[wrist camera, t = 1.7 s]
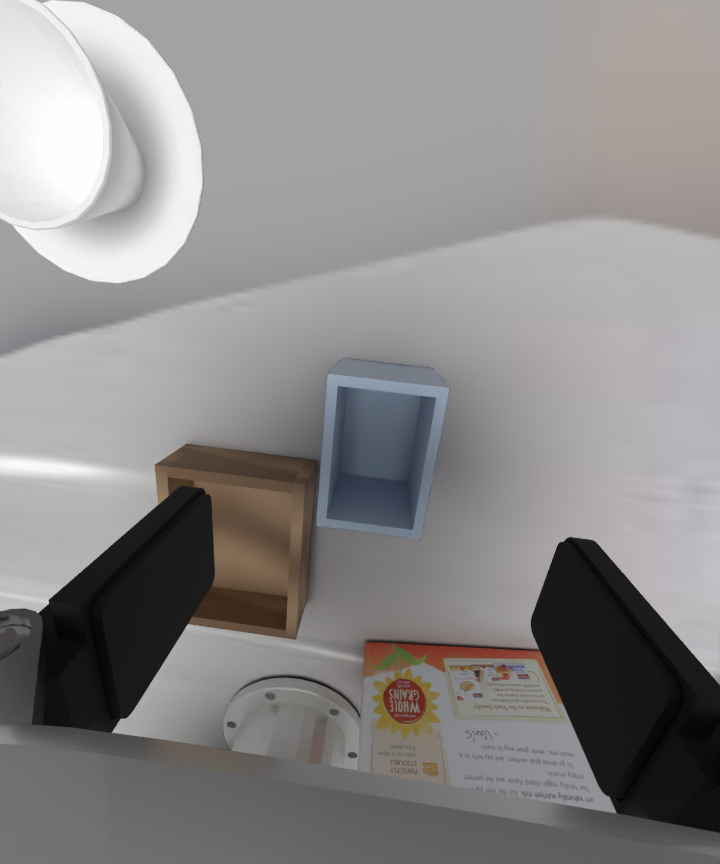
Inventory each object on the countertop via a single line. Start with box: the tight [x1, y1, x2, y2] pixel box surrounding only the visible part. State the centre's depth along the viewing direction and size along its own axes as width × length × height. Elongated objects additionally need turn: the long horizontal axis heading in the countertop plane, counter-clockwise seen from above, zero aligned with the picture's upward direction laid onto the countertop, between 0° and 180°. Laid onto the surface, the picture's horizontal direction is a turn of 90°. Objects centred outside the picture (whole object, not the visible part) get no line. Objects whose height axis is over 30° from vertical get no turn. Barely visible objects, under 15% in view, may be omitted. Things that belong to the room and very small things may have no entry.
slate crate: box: [316, 358, 450, 540], centre depth 20 cm, size 8×6×6 cm
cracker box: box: [357, 642, 616, 813], centre depth 19 cm, size 14×6×21 cm, turn 90°
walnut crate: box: [155, 444, 316, 639], centre depth 24 cm, size 12×9×4 cm
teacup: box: [0, 0, 204, 284], centre depth 17 cm, size 12×12×5 cm
